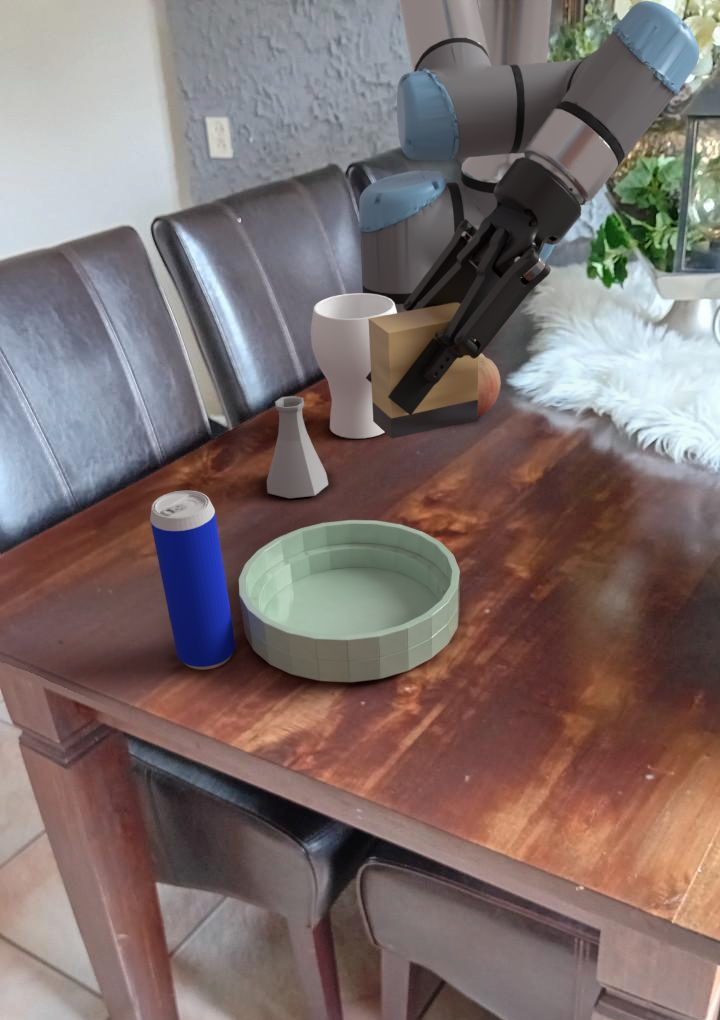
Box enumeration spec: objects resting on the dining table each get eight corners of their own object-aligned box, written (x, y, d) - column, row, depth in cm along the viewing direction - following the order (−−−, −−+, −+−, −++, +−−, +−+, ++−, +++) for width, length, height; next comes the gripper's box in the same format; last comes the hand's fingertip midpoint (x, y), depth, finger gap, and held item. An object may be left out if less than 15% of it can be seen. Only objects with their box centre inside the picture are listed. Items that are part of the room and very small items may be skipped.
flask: (321, 502, 110) (314, 416, 104) (257, 498, 111) (247, 414, 105) (335, 472, 116) (329, 389, 110) (275, 469, 117) (266, 387, 111)
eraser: (456, 403, 99) (456, 301, 93) (477, 419, 96) (479, 315, 90) (373, 421, 97) (368, 318, 91) (391, 438, 93) (388, 332, 88)
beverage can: (212, 630, 91) (187, 482, 82) (248, 653, 88) (226, 501, 79) (166, 656, 88) (134, 505, 79) (201, 680, 85) (173, 526, 76)
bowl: (270, 561, 100) (264, 517, 97) (464, 567, 98) (465, 522, 95) (222, 682, 85) (214, 634, 82) (451, 693, 82) (451, 644, 79)
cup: (304, 438, 123) (293, 317, 114) (338, 405, 131) (330, 288, 122) (385, 449, 120) (380, 324, 111) (414, 413, 128) (412, 294, 119)
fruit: (455, 432, 123) (455, 369, 118) (423, 410, 128) (422, 349, 124) (510, 418, 125) (513, 355, 120) (477, 396, 131) (478, 336, 126)
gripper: (633, 230, 84) (455, 452, 89) (526, 191, 97) (377, 386, 102) (583, 170, 79) (399, 408, 84) (479, 138, 93) (325, 345, 98)
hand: (388, 396), depth 93 cm, fingers closed on eraser, 4 cm apart
